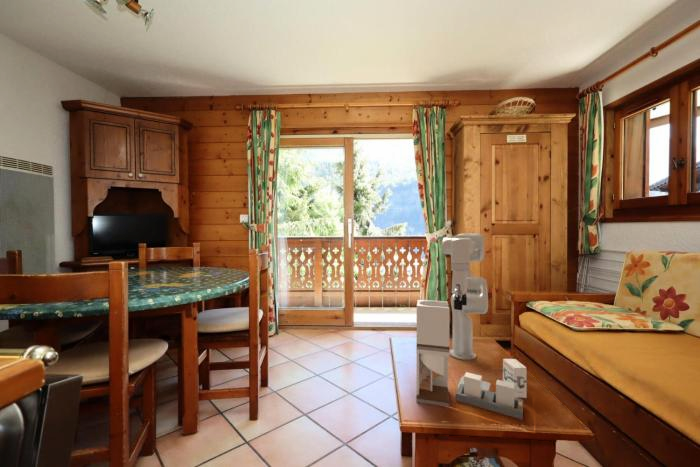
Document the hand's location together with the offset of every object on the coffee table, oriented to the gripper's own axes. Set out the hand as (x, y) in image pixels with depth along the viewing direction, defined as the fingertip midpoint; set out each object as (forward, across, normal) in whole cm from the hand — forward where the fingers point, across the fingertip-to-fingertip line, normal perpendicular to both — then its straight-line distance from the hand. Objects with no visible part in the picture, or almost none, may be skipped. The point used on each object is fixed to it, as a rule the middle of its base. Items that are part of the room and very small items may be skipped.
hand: (460, 307), depth 123 cm
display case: (+31, +20, -6) cm, 37 cm away
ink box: (+31, +1, +20) cm, 36 cm away
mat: (+30, +4, +6) cm, 31 cm away
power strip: (+30, +15, +12) cm, 36 cm away
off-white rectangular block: (+30, +15, +18) cm, 38 cm away
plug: (+30, +15, +7) cm, 35 cm away
